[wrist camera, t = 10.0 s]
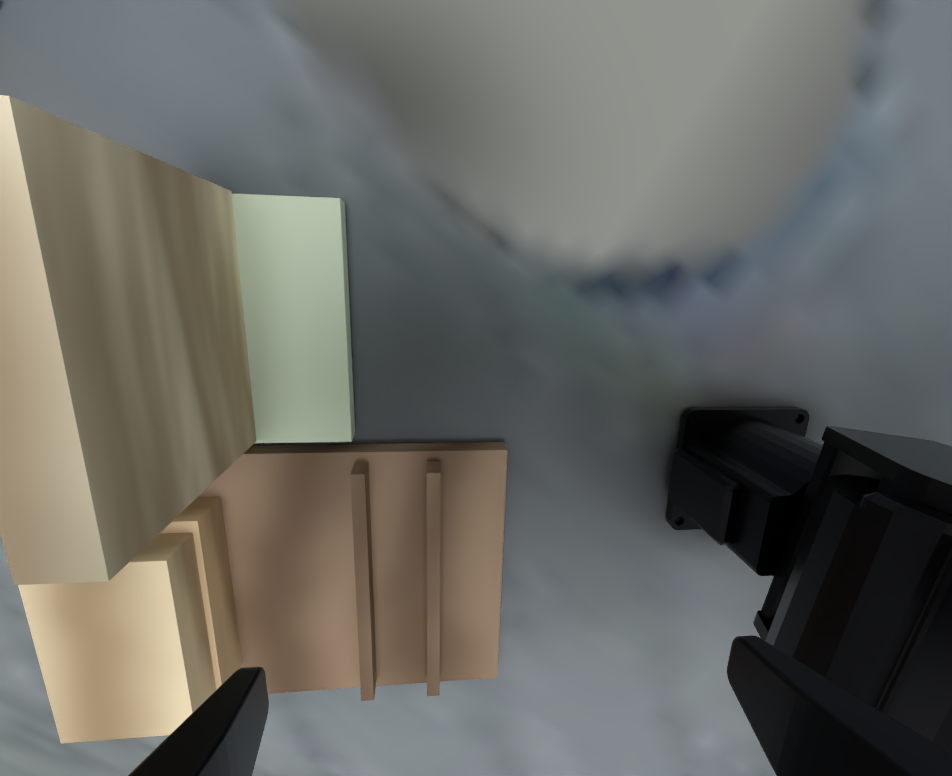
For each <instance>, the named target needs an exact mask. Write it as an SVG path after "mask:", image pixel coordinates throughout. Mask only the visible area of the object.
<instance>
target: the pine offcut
mask: <svg viewBox="0 0 952 776" xmlns="http://www.w3.org/2000/svg"><path fill="white" fill-rule="evenodd" d="M18 586H19V590H20V593H21V597H22V601H23V604H24V608H25V612H26V615H27V619H28V623H29V627H30V630H31V634H32V638H33V641H34V645H35V649H36V653H37V656H38V660H39V664H40V667H41V671H42V675H43V679H44V682H45V686H46V690H47V693H48V697H49V701H50V704H51V708H52V712H53V716H54V719H55V723H56V727H57V730H58V734H59V738H60V742H61V743H72V742H84V741H97V740H110V739H123V738H136V737H149V736H162V735H170V734H171V733H172V732H173V731H174V730H176V729H177V728H178V727H179V726H180V725H181V724H182V723H183V722H184V721H185V720H186V719H187V718H188V717H189V716H190V715H191V714H192V713H193V712H194V711H195V710H196V709H197V708H198V707H199V706H200V705H201V704H202V703H203V702H204V701H205V700H206V699H207V698H208V697H209V696H210V695H212V694H213V693H214V692H215V691H216V684H215V678H214V671H213V664H212V658H211V651H210V644H209V638H208V631H207V624H206V618H205V611H204V604H203V598H202V591H201V585H200V578H199V571H198V565H197V558H196V551H195V545H194V538H193V533H162V534H158V535H157V536H156V537H155V538H154V539H153V540H152V541H151V542H150V543H149V544H148V545H147V546H146V547H145V548H144V549H142V550H141V551H140V552H139V553H138V554H137V555H136V556H135V557H134V558H133V559H132V560H131V561H130V562H129V563H128V564H127V565H126V566H125V567H124V568H122V569H121V570H120V571H119V572H118V573H117V574H116V575H115V576H114V577H113V578H112V579H111V580H110V581H106V582H81V583H56V584H32V585H18Z"/></svg>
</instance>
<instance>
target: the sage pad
mask: <svg viewBox="0 0 952 776" xmlns="http://www.w3.org/2000/svg"><path fill="white" fill-rule="evenodd" d="M232 203H233V213H234V223H235V233H236V243H237V253H238V263H239V273H240V283H241V293H242V302H243V312H244V322H245V332H246V342H247V352H248V362H249V372H250V382H251V392H252V402H253V412H254V422H255V432H256V442H255V443H301V442H352V440H353V438H354V436H355V416H354V394H353V372H352V349H351V327H350V305H349V283H348V261H347V238H346V216H345V202H344V201H343V200H341V199H340V198H323V197H300V196H277V195H254V194H232Z"/></svg>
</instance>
